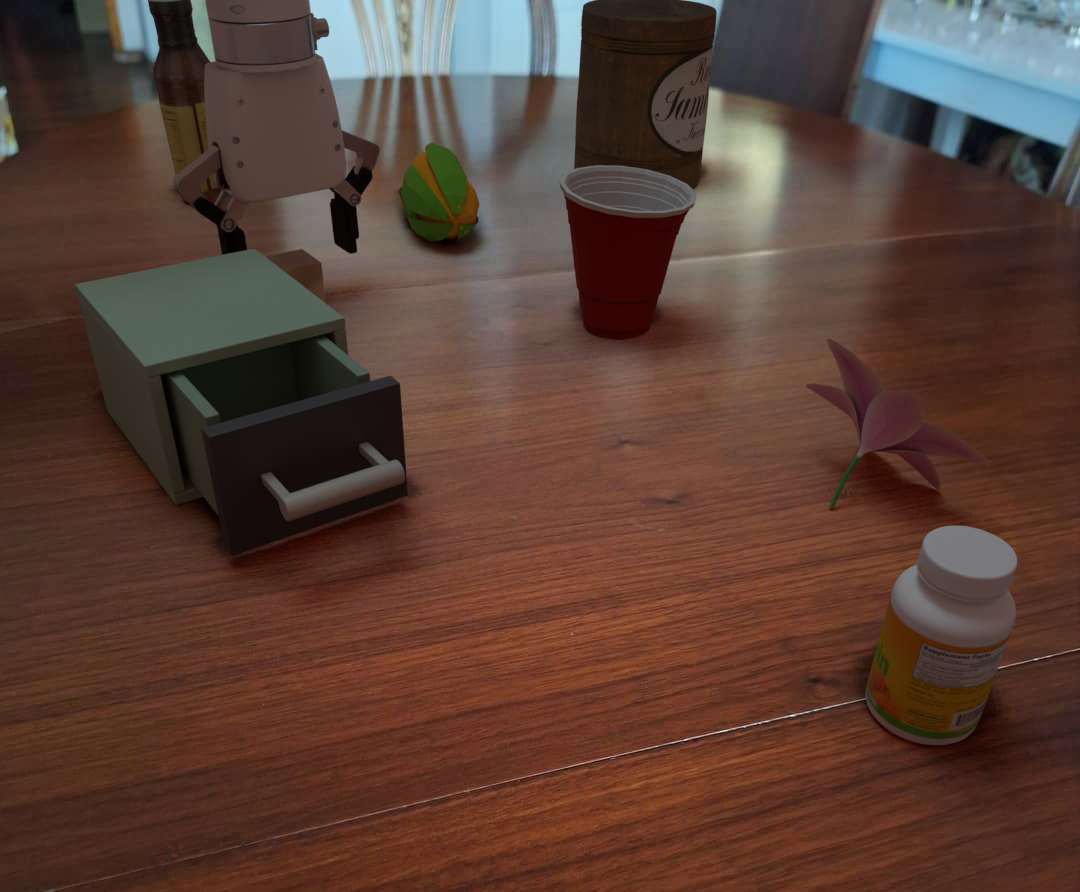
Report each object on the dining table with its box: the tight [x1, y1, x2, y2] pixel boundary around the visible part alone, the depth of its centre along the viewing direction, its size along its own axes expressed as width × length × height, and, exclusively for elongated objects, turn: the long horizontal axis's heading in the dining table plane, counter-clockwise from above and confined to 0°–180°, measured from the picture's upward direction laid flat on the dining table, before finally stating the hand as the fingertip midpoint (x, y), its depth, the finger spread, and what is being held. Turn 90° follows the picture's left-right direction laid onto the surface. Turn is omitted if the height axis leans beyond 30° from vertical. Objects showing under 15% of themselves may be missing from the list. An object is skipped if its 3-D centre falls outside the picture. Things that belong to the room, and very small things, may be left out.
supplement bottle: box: [864, 525, 1018, 746], centre depth 48 cm, size 5×5×10 cm
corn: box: [398, 142, 480, 243], centre depth 106 cm, size 7×8×20 cm
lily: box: [805, 337, 992, 510], centre depth 65 cm, size 12×12×10 cm
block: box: [264, 248, 327, 304], centre depth 89 cm, size 4×4×4 cm
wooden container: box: [573, 0, 718, 189], centre depth 116 cm, size 15×15×22 cm
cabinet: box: [74, 248, 349, 506], centre depth 70 cm, size 15×13×10 cm
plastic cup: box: [559, 165, 698, 340], centre depth 84 cm, size 11×11×12 cm
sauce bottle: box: [147, 0, 222, 204], centre depth 108 cm, size 7×6×20 cm
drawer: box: [160, 334, 409, 557], centre depth 62 cm, size 18×11×8 cm, turn 35°
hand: (294, 260), depth 88 cm, fingers open, 9 cm apart
